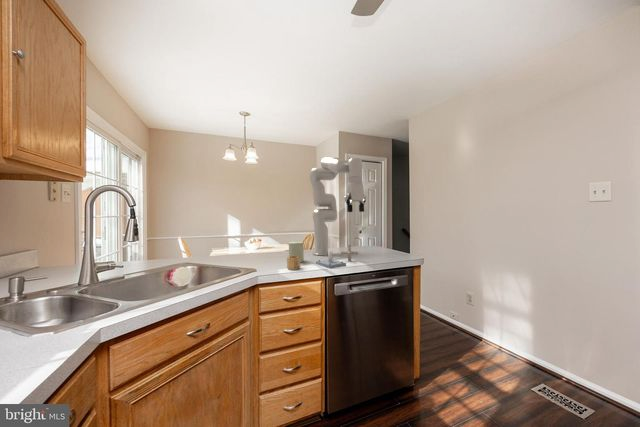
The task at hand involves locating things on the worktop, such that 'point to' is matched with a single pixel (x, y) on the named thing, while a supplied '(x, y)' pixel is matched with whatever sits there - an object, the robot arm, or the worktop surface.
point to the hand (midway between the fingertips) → (355, 211)
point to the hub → (293, 262)
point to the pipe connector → (349, 252)
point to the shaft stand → (330, 262)
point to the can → (296, 249)
